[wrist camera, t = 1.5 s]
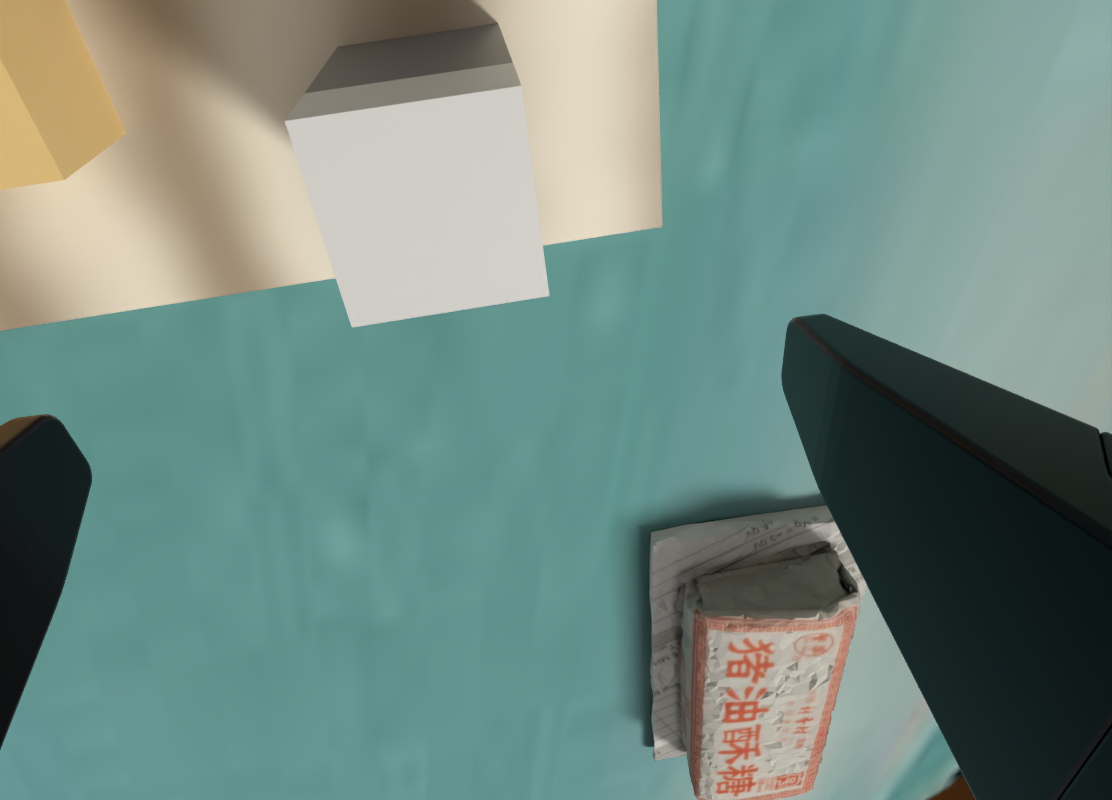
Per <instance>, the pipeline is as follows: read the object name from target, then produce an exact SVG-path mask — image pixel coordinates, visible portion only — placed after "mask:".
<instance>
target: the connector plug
mask: <svg viewBox="0 0 1112 800" xmlns="http://www.w3.org/2000/svg"><path fill="white" fill-rule="evenodd" d="M285 124H286V127H287V130H288V133H289V136H290V139H291V142H292V145H293V148H294V152H295V155H296V158H297V161H298V164H299V167H300V170H301V173H302V176H303V179H304V182H305V185H306V188H307V191H308V194H309V197H310V201H311V204H312V207H313V210H314V213H315V216H316V219H317V222H318V225H319V228H320V231H321V234H322V237H323V240H324V243H325V246H326V250H327V253H328V256H329V259H330V262H331V265H332V268H333V271H334V274H335V277H336V280H337V283H338V286H339V289H340V292H341V295H342V299H343V302H344V305H345V308H346V311H347V314H348V317H349V320H350V323H351V326H352V327H358V326H364V325H370V324H376V323H383V322H389V321H395V320H402V319H408V318H414V317H420V316H427V315H433V314H439V313H446V312H452V311H458V310H464V309H471V308H477V307H483V306H489V305H496V304H502V303H508V302H515V301H521V300H527V299H533V298H540V297H546V296H549V289H548V282H547V274H546V267H545V259H544V252H543V244H542V237H541V229H540V222H539V214H538V206H537V199H536V191H535V184H534V176H533V169H532V161H531V154H530V146H529V139H528V131H527V124H526V116H525V108H524V101H523V93H522V86H521V83H520V80H519V78H518V75H517V72H516V70H515V67H514V64H513V62H512V59H511V56H510V53H509V51H508V48H507V45H506V43H505V40H504V37H503V35H502V32H501V29H500V27H499V24H498V23H496V24H489V25H483V26H476V27H469V28H462V29H455V30H448V31H442V32H435V33H428V34H421V35H414V36H407V37H401V38H394V39H387V40H380V41H373V42H367V43H360V44H353V45H346V46H339V47H337V48H336V50H335V51H334V52H333V54H332V55H331V57H330V58H329V59H328V61H327V62H326V64H325V65H324V66H323V68H322V69H321V71H320V72H319V73H318V75H317V76H316V78H315V79H314V80H313V82H312V83H311V85H310V86H309V88H308V89H307V90H306V92H305V93H304V95H303V96H302V97H301V99H300V100H299V102H298V103H297V104H296V106H295V107H294V109H293V110H292V111H291V113H290V114H289V116H288V117H287V118H286V120H285Z"/></svg>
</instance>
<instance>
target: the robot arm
mask: <svg viewBox="0 0 1112 800" xmlns="http://www.w3.org/2000/svg"><path fill="white" fill-rule="evenodd" d="M782 386H783V391H784V394H785V397H786V400H787V402H788V405H789V408H790V411H791V414H792V416H793V419H794V422H795V425H796V428H797V430H798V433H799V436H800V439H801V442H802V444H803V447H804V450H805V453H806V456H807V458H808V461H809V464H810V467H811V470H812V472H813V475H814V478H815V480H816V483H817V485H818V488H819V490H820V492H821V494H822V497H823V499H824V501H825V503H826V505H827V507H828V509H829V511H830V513H831V515H832V517H833V519H834V521H835V523H836V525H837V527H838V529H839V531H840V533H841V535H842V537H843V539H844V541H845V543H846V545H847V547H848V549H849V551H850V553H851V554H852V556H853V558H854V560H855V562H856V564H857V566H858V568H859V570H860V572H861V574H862V576H863V578H864V580H865V582H866V584H867V586H868V588H869V590H870V592H871V594H872V596H873V598H874V600H875V602H876V604H877V606H878V608H879V610H880V612H881V614H882V616H883V618H884V620H885V622H886V624H887V625H888V627H889V629H890V631H891V633H892V635H893V637H894V639H895V641H896V643H897V645H898V647H899V649H900V651H901V653H902V655H903V657H904V659H905V661H906V663H907V665H908V667H909V669H910V671H911V673H912V675H913V677H914V679H915V681H916V683H917V685H918V687H919V689H920V691H921V693H922V695H923V697H924V698H925V700H926V702H927V704H928V706H929V708H930V710H931V712H932V714H933V716H934V718H935V720H936V722H937V724H938V726H939V728H940V730H941V732H942V734H943V736H944V738H945V740H946V742H947V744H948V746H949V748H950V750H951V752H952V754H953V756H954V758H955V760H956V762H957V764H958V766H959V768H960V769H961V771H962V773H963V775H964V777H965V779H966V781H967V783H968V785H969V787H970V789H971V791H972V793H973V795H974V797H975V799H976V800H1112V434H1110V433H1108V432H1103V433H1101V434H1100V432H1099V430H1098V429H1097V428H1095V427H1093V426H1091V425H1088V424H1086V423H1083V422H1081V421H1079V420H1076V419H1074V418H1072V417H1069V416H1067V415H1064V414H1062V413H1060V412H1057V411H1055V410H1052V409H1050V408H1048V407H1045V406H1043V405H1041V404H1038V403H1036V402H1033V401H1031V400H1029V399H1026V398H1024V397H1021V396H1019V395H1017V394H1014V393H1012V392H1010V391H1007V390H1005V389H1002V388H1000V387H998V386H995V385H993V384H990V383H988V382H986V381H983V380H981V379H979V378H976V377H974V376H971V375H969V374H967V373H964V372H962V371H959V370H957V369H955V368H952V367H950V366H948V365H945V364H943V363H940V362H938V361H936V360H933V359H931V358H928V357H926V356H924V355H921V354H919V353H917V352H914V351H912V350H909V349H907V348H905V347H902V346H900V345H898V344H895V343H893V342H890V341H888V340H886V339H883V338H881V337H878V336H876V335H874V334H871V333H869V332H867V331H864V330H862V329H859V328H857V327H855V326H852V325H850V324H848V323H845V322H843V321H840V320H838V319H836V318H833V317H831V316H828V315H826V314H816V315H809V316H801V317H795V318H793V319H792V320H791V321H790V322H789V324H788V327H787V332H786V340H785V348H784V357H783V365H782ZM91 483H92V474H91V469H90V466H89V463H88V461H87V460H86V458H85V457H84V455H83V454H82V452H81V451H80V449H79V448H78V446H77V445H76V443H75V442H74V440H73V439H72V437H71V436H70V434H69V432H68V431H67V429H66V428H65V426H64V425H63V424H62V422H61V421H60V420H59V419H57V418H56V417H54V416H52V415H48V414H44V415H35V416H27V417H19V418H15V419H12V420H10V421H8V422H6V423H4V424H3V425H1V426H0V749H1V747H2V744H3V742H4V739H5V737H6V734H7V732H8V729H9V727H10V724H11V721H12V719H13V716H14V714H15V711H16V709H17V706H18V704H19V701H20V699H21V696H22V693H23V691H24V688H25V686H26V683H27V681H28V678H29V676H30V673H31V671H32V668H33V665H34V663H35V660H36V658H37V655H38V653H39V650H40V648H41V645H42V643H43V640H44V637H45V635H46V632H47V630H48V627H49V625H50V622H51V620H52V617H53V615H54V612H55V609H56V607H57V604H58V601H59V598H60V596H61V593H62V590H63V587H64V583H65V580H66V577H67V573H68V570H69V566H70V562H71V558H72V555H73V551H74V547H75V543H76V540H77V536H78V532H79V528H80V525H81V521H82V517H83V514H84V510H85V506H86V502H87V499H88V495H89V491H90V487H91Z"/></svg>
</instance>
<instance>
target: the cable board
mask: <svg viewBox="0 0 1112 800" xmlns="http://www.w3.org/2000/svg"><path fill="white" fill-rule="evenodd" d="M65 1H66V3H67V5H68V7H69V10H70V12H71V14H72V16H73V18H74V21H75V23H76V25H77V27H78V29H79V31H80V34H81V36H82V38H83V40H84V42H85V45H86V47H87V49H88V51H89V53H90V55H91V58H92V60H93V62H94V64H95V66H96V69H97V71H98V73H99V75H100V77H101V79H102V82H103V84H104V86H105V88H106V90H107V93H108V95H109V97H110V99H111V101H112V104H113V106H114V108H115V110H116V112H117V114H118V117H119V119H120V121H121V123H122V125H123V128H124V130H125V132H126V134H125V135H124V136H122V137H121V138H120V139H118V140H117V141H116V142H114V143H113V144H112V145H110V146H109V147H108V148H106V149H105V150H104V151H102V152H101V153H100V154H99V155H97V156H96V157H95V158H93V159H92V160H91V161H89V162H88V163H87V164H85V165H84V166H83V167H81V168H80V169H79V170H77V171H76V172H75V173H73V174H72V175H71V176H69V177H68V178H67V179H65V180H62V181H56V182H49V183H42V184H36V185H29V186H22V187H16V188H9V189H2V190H0V331H1V330H7V329H14V328H20V327H26V326H33V325H39V324H46V323H52V322H58V321H65V320H71V319H77V318H84V317H90V316H97V315H103V314H109V313H116V312H122V311H128V310H135V309H141V308H148V307H154V306H160V305H167V304H173V303H179V302H186V301H192V300H198V299H205V298H211V297H218V296H224V295H230V294H237V293H243V292H249V291H256V290H262V289H269V288H275V287H281V286H288V285H294V284H300V283H307V282H313V281H320V280H326V279H332V278H336V277H335V274H334V271H333V268H332V265H331V262H330V259H329V256H328V253H327V250H326V246H325V243H324V240H323V237H322V234H321V231H320V228H319V225H318V222H317V219H316V216H315V213H314V210H313V207H312V204H311V201H310V197H309V194H308V191H307V188H306V185H305V182H304V179H303V176H302V173H301V170H300V167H299V164H298V161H297V158H296V155H295V152H294V148H293V145H292V142H291V139H290V136H289V133H288V130H287V127H286V124H285V120H286V118H287V117H288V116H289V114H290V113H291V111H292V110H293V109H294V107H295V106H296V104H297V103H298V102H299V100H300V99H301V97H302V96H303V95H304V93H305V92H306V90H307V89H308V88H309V86H310V85H311V83H312V82H313V80H314V79H315V78H316V76H317V75H318V73H319V72H320V71H321V69H322V68H323V66H324V65H325V64H326V62H327V61H328V59H329V58H330V57H331V55H332V54H333V52H334V51H335V50H336V48H337V47H339V46H346V45H353V44H360V43H367V42H373V41H380V40H387V39H394V38H401V37H407V36H414V35H421V34H428V33H435V32H442V31H448V30H455V29H462V28H469V27H476V26H483V25H489V24H496V23H498V24H499V27H500V29H501V32H502V35H503V37H504V40H505V43H506V45H507V48H508V51H509V53H510V56H511V59H512V62H513V64H514V67H515V70H516V72H517V75H518V78H519V80H520V83H521V86H522V93H523V101H524V108H525V116H526V124H527V131H528V139H529V146H530V154H531V161H532V169H533V176H534V184H535V191H536V199H537V206H538V214H539V222H540V229H541V237H542V244H543V245H549V244H555V243H562V242H568V241H574V240H581V239H587V238H594V237H600V236H606V235H613V234H619V233H625V232H632V231H638V230H644V229H651V228H657V227H662V192H661V152H660V113H659V74H658V34H657V0H65Z"/></svg>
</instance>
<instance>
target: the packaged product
mask: <svg viewBox="0 0 1112 800" xmlns="http://www.w3.org/2000/svg"><path fill="white" fill-rule="evenodd" d="M866 588H867V584H866V582H865V580H864V578H863V576H862V574H861V572H860V570H859V568H858V566H857V564H856V562H855V560H854V558H853V556H852V554H851V553H850V551H849V549H848V547H847V545H846V543H845V541H844V539H843V537H842V535H841V533H840V531H839V529H838V527H837V525H836V523H835V521H834V519H833V517H832V515H831V513H830V511H829V509H828V507H827V505H823V506H816V507H809V508H802V509H795V510H789V511H781V512H773V513H765V514H757V515H750V516H743V517H737V518H731V519H724V520H718V521H711V522H705V523H696V524H687V525H682V526H677V527H673V528H668V529H664V530H659V531H654V532H651V545H650V589H649V598H650V607H651V617H652V636H651V646H652V655H651V664H650V675H651V678H650V682H651V687H652V692H653V705H652V717H651V722H652V730H653V738H654V750H653V757H654V759H655V761H657V760H661V759H667V758H674V757H680V756H687V759H688V766H689V773H690V778H691V782H692V785H693V788H694V794H695V796H696V798H697V799H698V800H778V799H783V798H787V797H791V796H795V795H802V794H805V793H807V792H809V791H811V790H813V785H814V781H815V778H816V775H817V773H818V767H819V765H820V764H821V762H822V751H823V749H824V747H825V746H826V739H827V735H828V729H829V725H830V722H831V714H832V711H833V710H834V707H835V704H836V697H837V693H838V691H839V687H840V682H841V680H842V675H843V672H844V668H845V665H846V660H847V658H848V654H849V647H850V643H851V641H852V638H853V635H854V630H855V626H856V622H857V618H858V615H859V612H860V604H861V600H862V598H863V596H864V594H865V591H866Z"/></svg>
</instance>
